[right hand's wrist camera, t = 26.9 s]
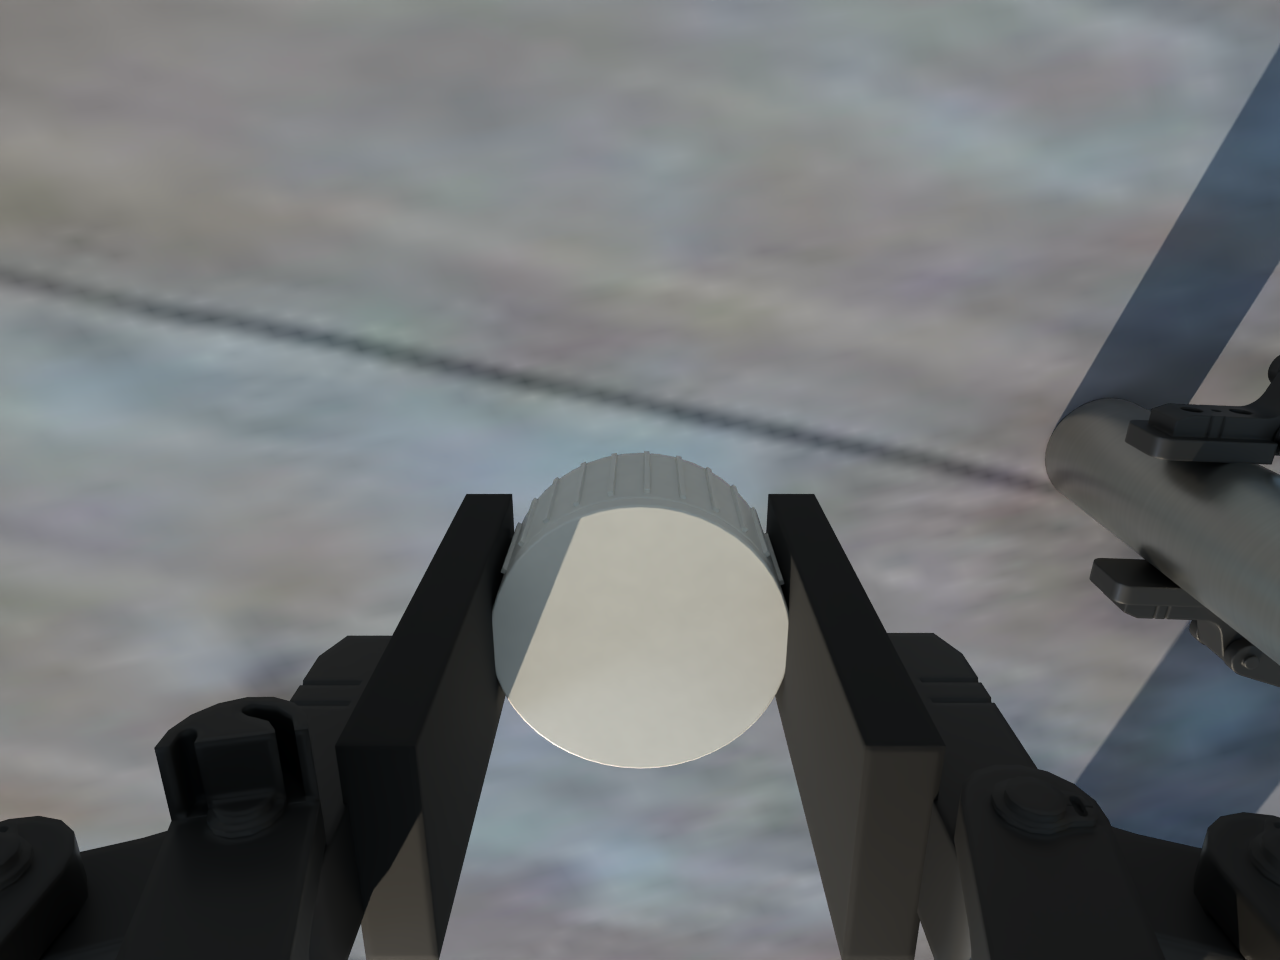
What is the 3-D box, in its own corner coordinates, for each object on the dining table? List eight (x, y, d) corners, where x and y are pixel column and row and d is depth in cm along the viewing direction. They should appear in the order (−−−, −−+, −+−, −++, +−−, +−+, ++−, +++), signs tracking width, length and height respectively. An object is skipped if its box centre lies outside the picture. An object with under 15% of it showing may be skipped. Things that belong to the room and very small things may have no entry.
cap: (453, 551, 14) (419, 619, 12) (666, 393, 13) (671, 437, 11) (617, 728, 16) (613, 819, 13) (824, 595, 15) (855, 670, 12)
